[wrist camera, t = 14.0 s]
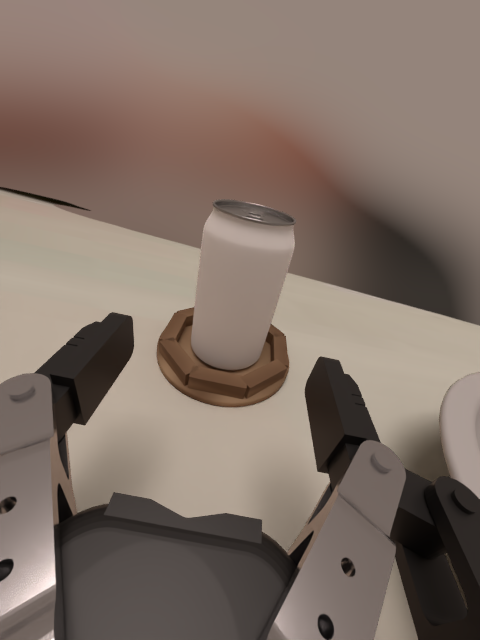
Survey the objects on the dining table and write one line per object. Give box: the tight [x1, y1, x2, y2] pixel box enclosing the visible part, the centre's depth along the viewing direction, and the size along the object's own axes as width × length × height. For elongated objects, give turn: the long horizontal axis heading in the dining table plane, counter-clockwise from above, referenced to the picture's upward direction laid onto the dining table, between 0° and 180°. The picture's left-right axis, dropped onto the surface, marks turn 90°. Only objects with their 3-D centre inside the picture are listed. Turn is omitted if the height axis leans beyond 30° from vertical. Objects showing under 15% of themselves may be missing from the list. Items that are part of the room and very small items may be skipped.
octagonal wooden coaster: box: [157, 307, 289, 407], centre depth 23 cm, size 12×12×2 cm
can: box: [191, 199, 296, 371], centre depth 20 cm, size 6×6×12 cm
